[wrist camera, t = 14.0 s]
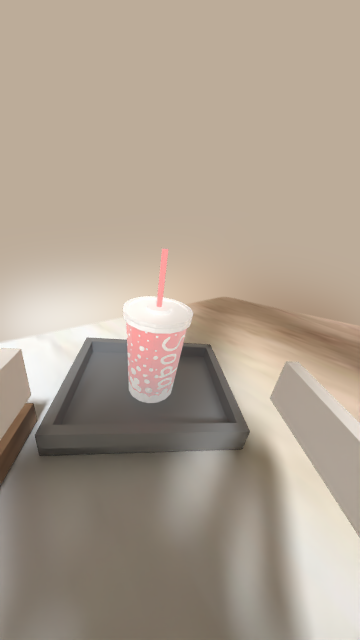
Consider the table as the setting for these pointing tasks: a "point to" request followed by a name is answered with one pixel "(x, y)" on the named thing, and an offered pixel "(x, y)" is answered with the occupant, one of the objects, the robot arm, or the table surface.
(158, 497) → the table surface
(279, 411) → the robot arm
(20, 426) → the holder
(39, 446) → the tray
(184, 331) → the beverage cup
